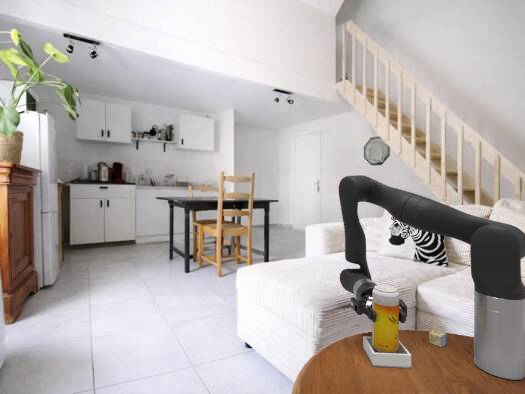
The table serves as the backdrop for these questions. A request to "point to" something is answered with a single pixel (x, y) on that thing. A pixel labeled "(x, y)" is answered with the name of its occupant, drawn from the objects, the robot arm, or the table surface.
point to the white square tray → (387, 356)
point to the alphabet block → (437, 338)
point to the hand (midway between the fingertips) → (389, 318)
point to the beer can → (385, 319)
